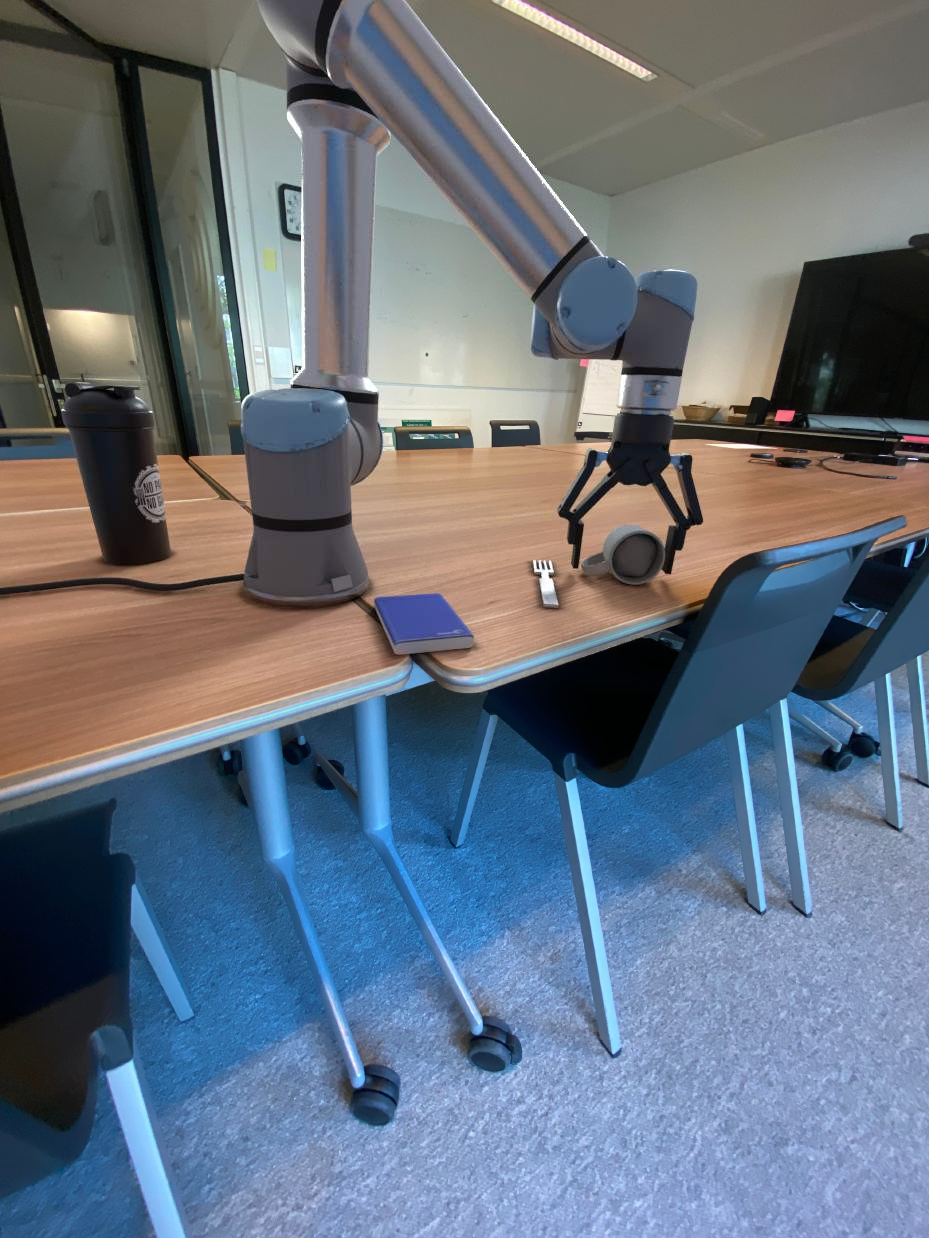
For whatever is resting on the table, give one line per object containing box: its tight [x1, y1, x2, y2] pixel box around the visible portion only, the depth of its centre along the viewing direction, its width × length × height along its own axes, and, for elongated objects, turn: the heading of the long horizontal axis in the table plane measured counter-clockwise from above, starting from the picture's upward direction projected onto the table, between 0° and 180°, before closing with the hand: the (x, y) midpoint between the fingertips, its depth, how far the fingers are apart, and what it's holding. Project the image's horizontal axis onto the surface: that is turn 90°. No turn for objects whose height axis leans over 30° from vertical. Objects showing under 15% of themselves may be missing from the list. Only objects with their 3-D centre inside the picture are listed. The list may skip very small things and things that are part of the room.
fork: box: [532, 559, 560, 609], centre depth 74 cm, size 3×19×1 cm, turn 176°
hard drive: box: [373, 592, 475, 655], centre depth 58 cm, size 2×8×12 cm
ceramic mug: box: [580, 524, 665, 586], centre depth 77 cm, size 11×8×8 cm
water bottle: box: [60, 381, 172, 566], centre depth 73 cm, size 10×10×23 cm
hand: (619, 569), depth 78 cm, fingers open, 12 cm apart
